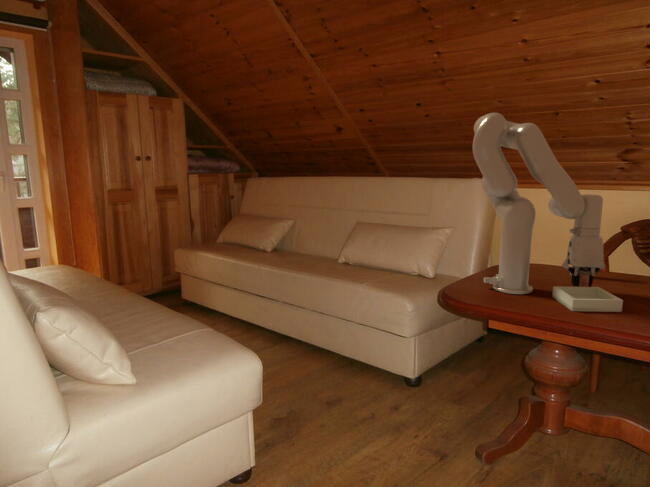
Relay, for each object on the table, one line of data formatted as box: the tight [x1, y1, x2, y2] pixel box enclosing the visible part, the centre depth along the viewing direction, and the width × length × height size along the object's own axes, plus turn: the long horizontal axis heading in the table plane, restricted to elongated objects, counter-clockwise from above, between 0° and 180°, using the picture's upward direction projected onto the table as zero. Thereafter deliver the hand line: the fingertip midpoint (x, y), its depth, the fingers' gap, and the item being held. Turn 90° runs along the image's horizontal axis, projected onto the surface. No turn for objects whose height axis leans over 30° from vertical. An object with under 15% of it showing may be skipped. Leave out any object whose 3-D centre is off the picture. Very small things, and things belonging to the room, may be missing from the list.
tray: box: [552, 285, 624, 313], centre depth 142 cm, size 14×14×4 cm
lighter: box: [578, 267, 590, 287], centre depth 154 cm, size 8×3×10 cm, turn 169°
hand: (581, 285), depth 155 cm, fingers closed on lighter, 3 cm apart
